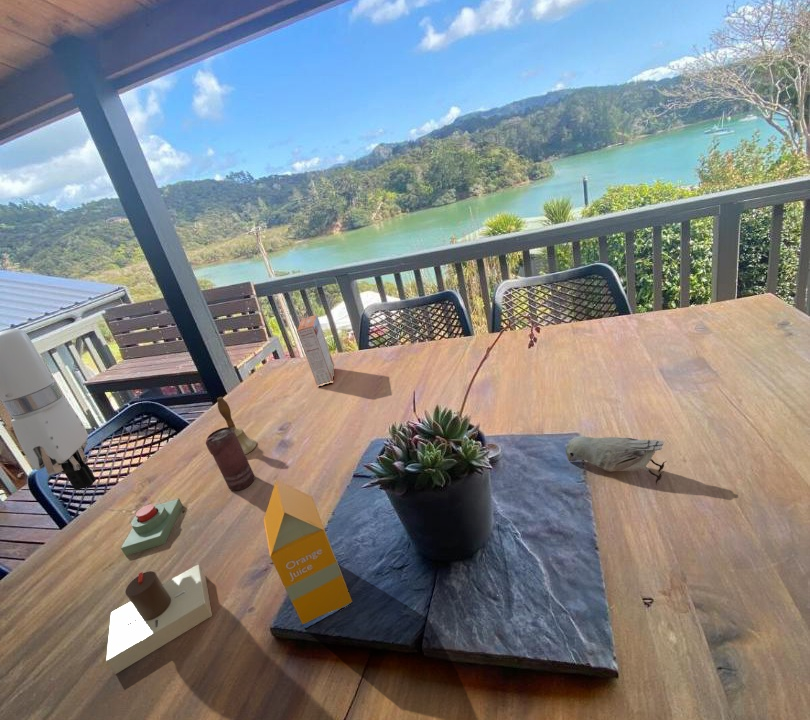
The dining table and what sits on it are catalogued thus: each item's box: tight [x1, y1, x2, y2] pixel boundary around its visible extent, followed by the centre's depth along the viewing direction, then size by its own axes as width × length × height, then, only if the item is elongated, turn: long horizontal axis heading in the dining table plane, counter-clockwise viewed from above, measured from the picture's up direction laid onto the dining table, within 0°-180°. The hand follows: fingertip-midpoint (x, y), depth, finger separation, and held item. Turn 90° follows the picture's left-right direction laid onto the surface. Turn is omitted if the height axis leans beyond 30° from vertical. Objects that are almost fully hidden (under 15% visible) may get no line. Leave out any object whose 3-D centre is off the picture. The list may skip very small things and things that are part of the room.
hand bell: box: [216, 396, 258, 456], centre depth 114 cm, size 8×8×16 cm
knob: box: [124, 570, 171, 620], centre depth 68 cm, size 4×4×6 cm
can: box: [205, 426, 255, 492], centre depth 99 cm, size 6×6×14 cm
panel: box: [105, 564, 213, 675], centre depth 70 cm, size 14×10×3 cm
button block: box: [120, 497, 184, 556], centre depth 93 cm, size 12×8×4 cm, turn 10°
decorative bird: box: [565, 435, 668, 486], centre depth 76 cm, size 5×16×8 cm, turn 55°
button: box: [135, 503, 157, 523], centre depth 92 cm, size 4×4×2 cm
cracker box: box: [296, 314, 335, 386], centre depth 146 cm, size 14×6×21 cm, turn 6°
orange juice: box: [263, 478, 353, 625], centre depth 64 cm, size 8×9×20 cm
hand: (86, 485), depth 81 cm, fingers closed
